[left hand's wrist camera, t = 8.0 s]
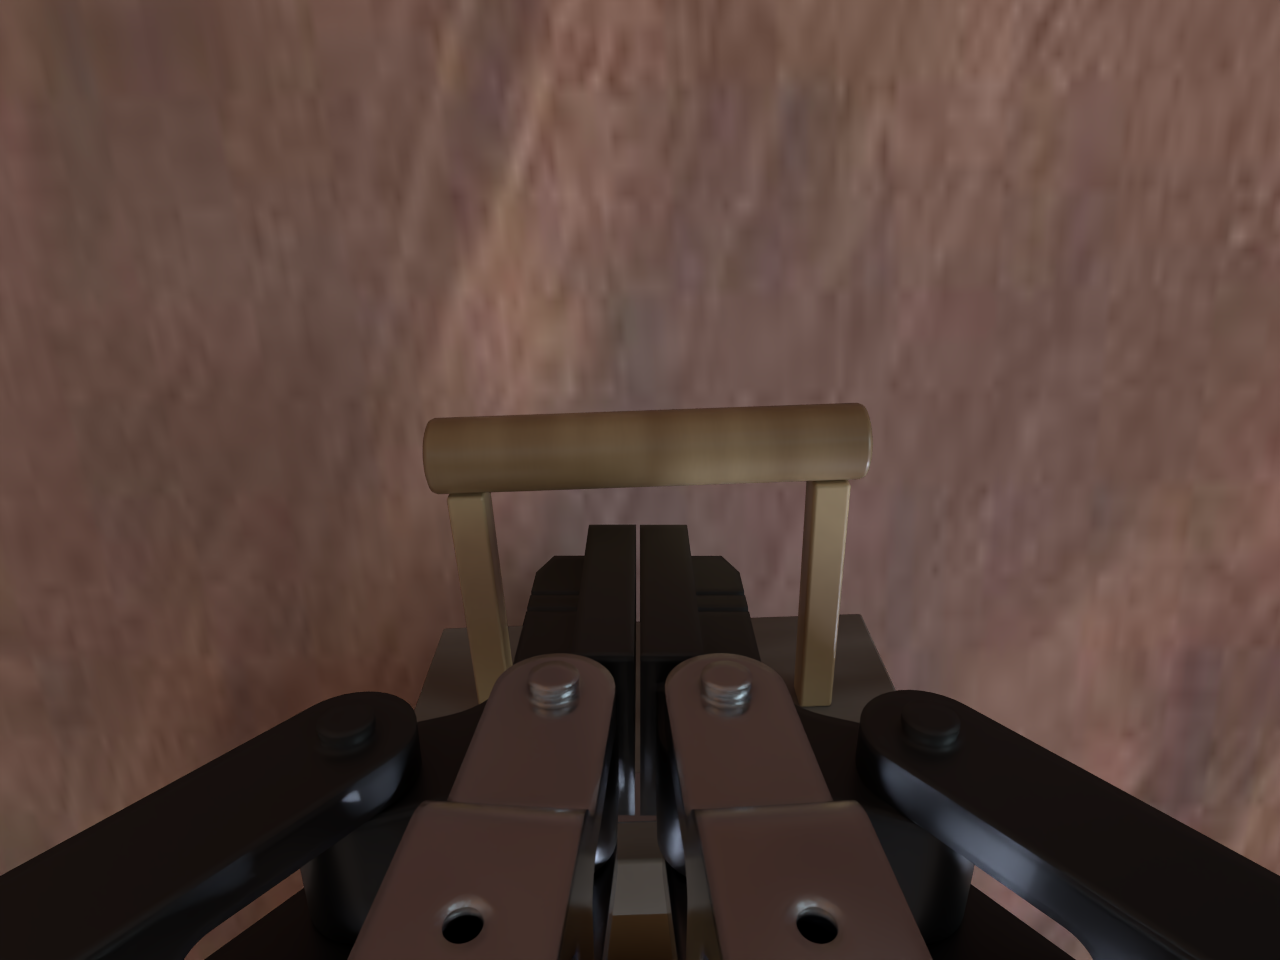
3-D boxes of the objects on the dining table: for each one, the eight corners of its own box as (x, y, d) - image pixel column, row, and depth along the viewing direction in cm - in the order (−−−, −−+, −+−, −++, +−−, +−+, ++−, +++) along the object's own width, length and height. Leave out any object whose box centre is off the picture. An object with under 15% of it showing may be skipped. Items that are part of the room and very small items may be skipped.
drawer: (399, 372, 15) (262, 529, 9) (887, 355, 14) (1042, 500, 9) (520, 1082, 24) (488, 1364, 19) (814, 1072, 24) (867, 1352, 19)
